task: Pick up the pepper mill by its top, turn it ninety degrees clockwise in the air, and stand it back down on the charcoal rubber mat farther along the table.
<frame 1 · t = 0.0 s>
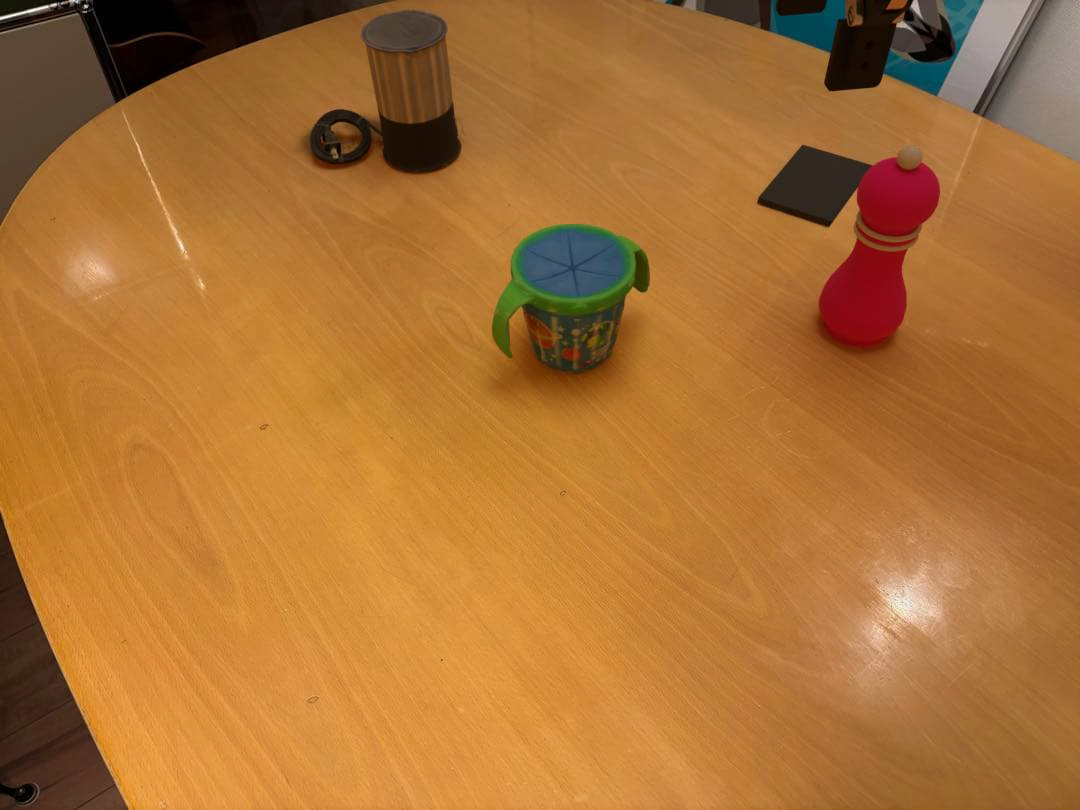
hand: (823, 47, 54), 30 cm above the table, tool pointing down, fingers open, 9 cm apart
pepper mill: (849, 342, 80), on the table
mat: (867, 203, 93), on the table
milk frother: (388, 154, 103), on the table
snack cup: (573, 348, 80), on the table
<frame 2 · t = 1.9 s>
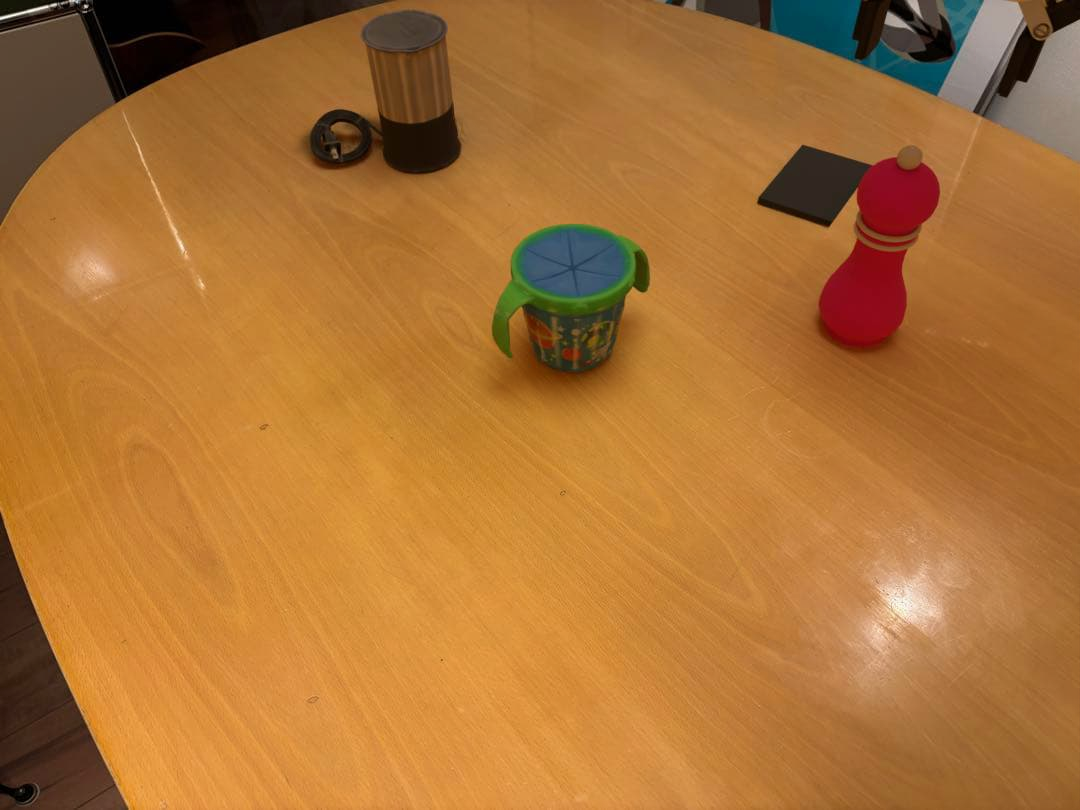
hand: (934, 69, 60), 26 cm above the table, tool pointing down, fingers open, 9 cm apart
nothing on the table moved.
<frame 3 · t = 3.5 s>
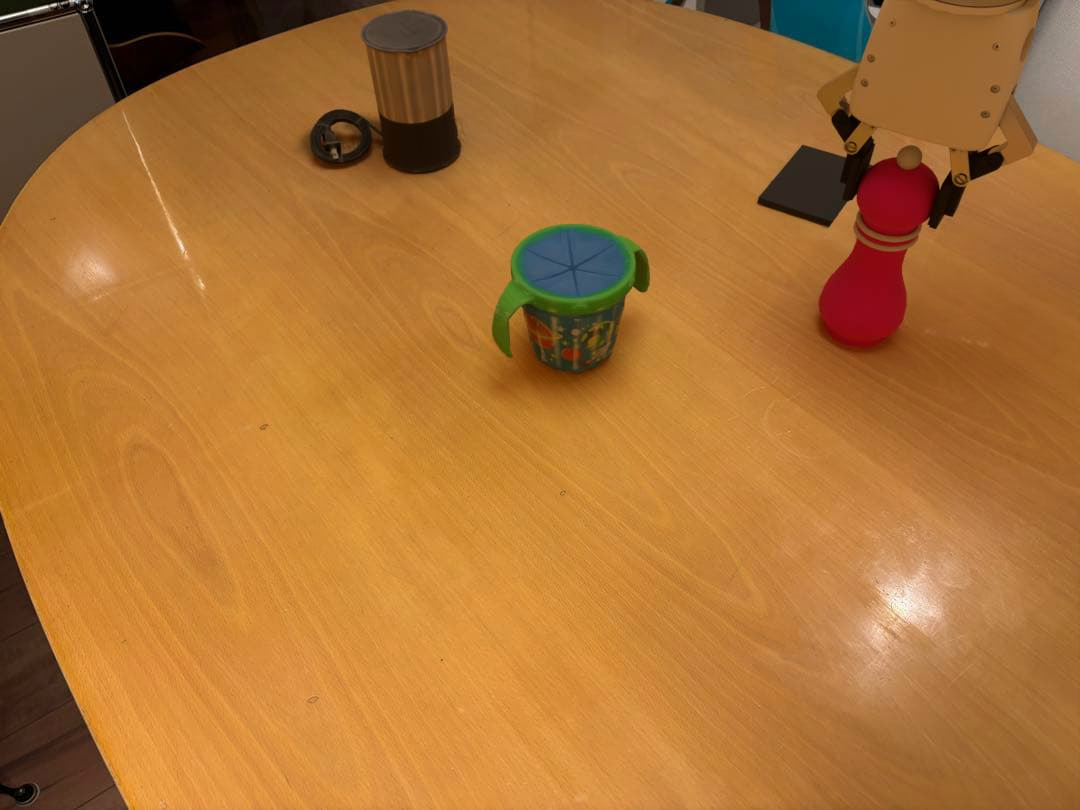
hand: (894, 203, 68), 15 cm above the table, tool pointing down, fingers closed on pepper mill, 6 cm apart
pepper mill: (849, 342, 79), on the table, touching gripper
everything else where it was.
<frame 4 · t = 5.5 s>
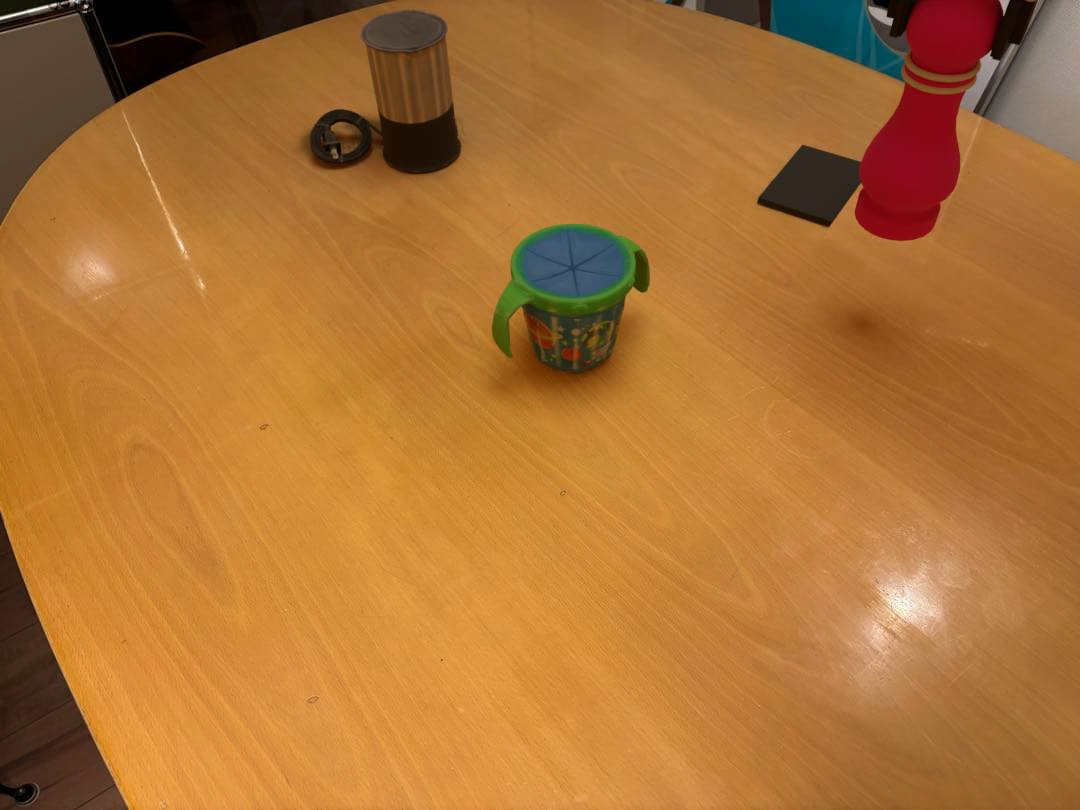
hand: (950, 37, 60), 28 cm above the table, tool pointing down, fingers closed on pepper mill, 6 cm apart
pepper mill: (893, 220, 71), point 12 cm above the table, touching gripper
everything else where it was.
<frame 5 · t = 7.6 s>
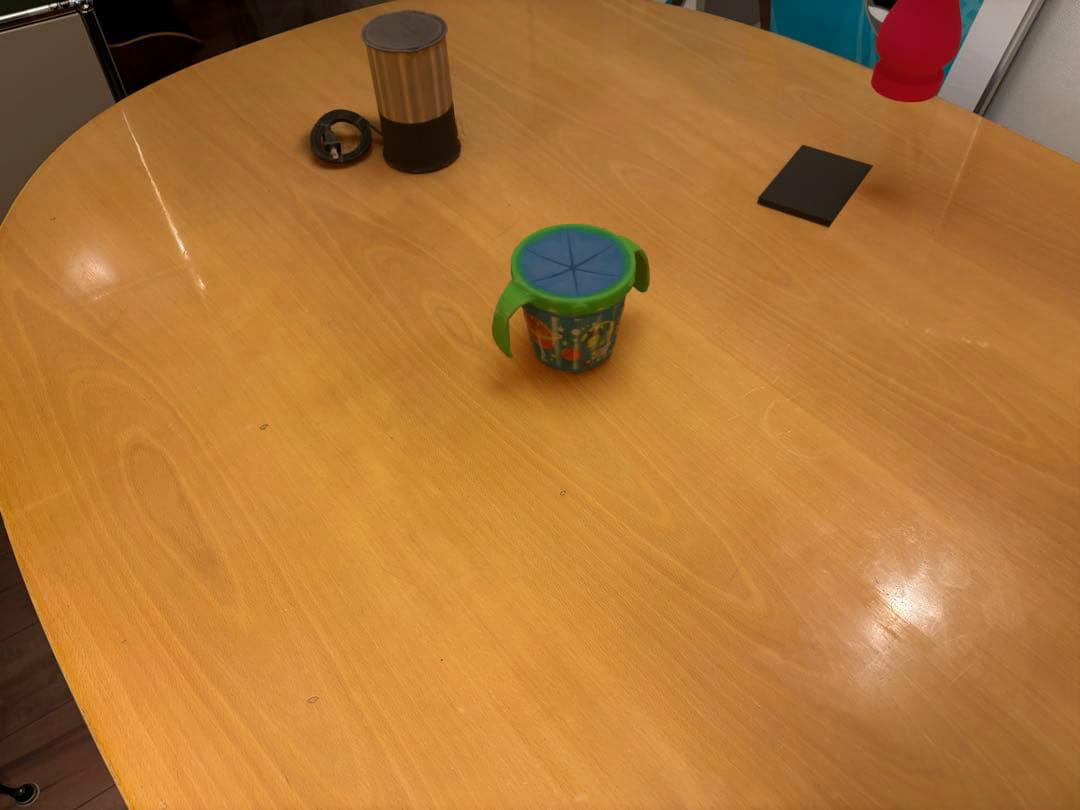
pepper mill: (904, 88, 83), point 13 cm above the table, touching gripper
everything else where it was.
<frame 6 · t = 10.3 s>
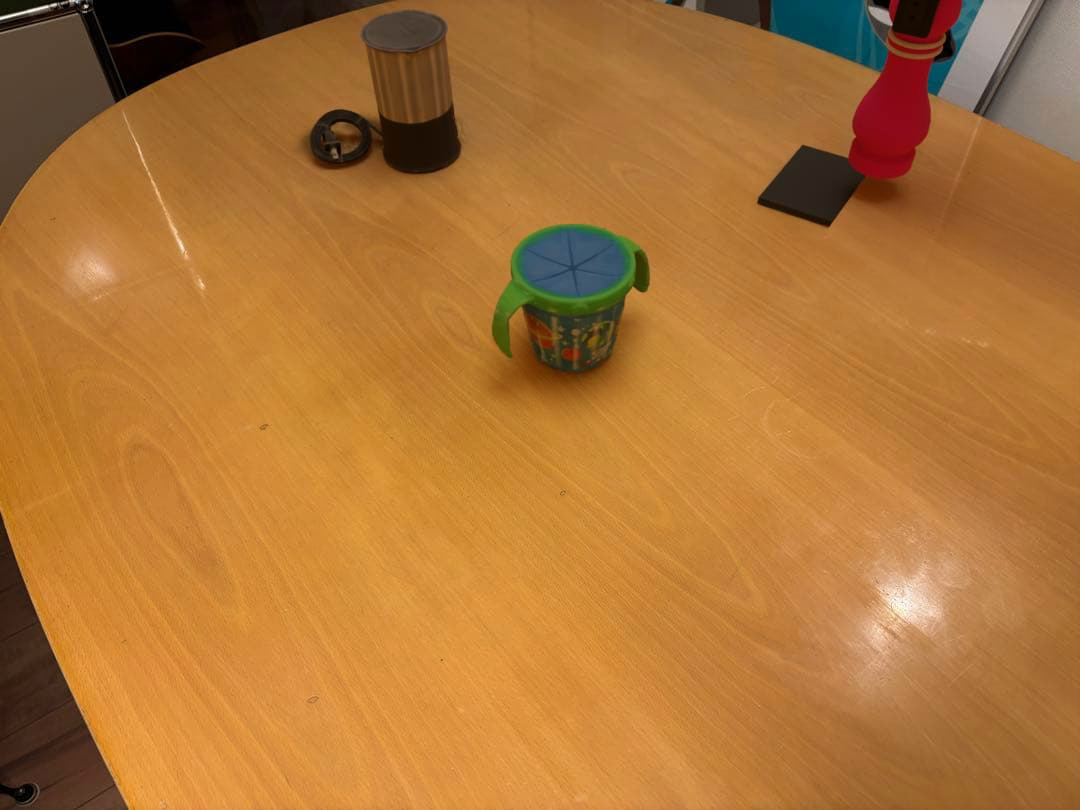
hand: (922, 16, 78), 20 cm above the table, tool pointing down, fingers closed on pepper mill, 6 cm apart
pepper mill: (878, 163, 89), point 5 cm above the table, touching gripper
everything else where it was.
when the fingers open (16 cm above the table, at t = 11.9 s): pepper mill stays where it is, resting on mat.
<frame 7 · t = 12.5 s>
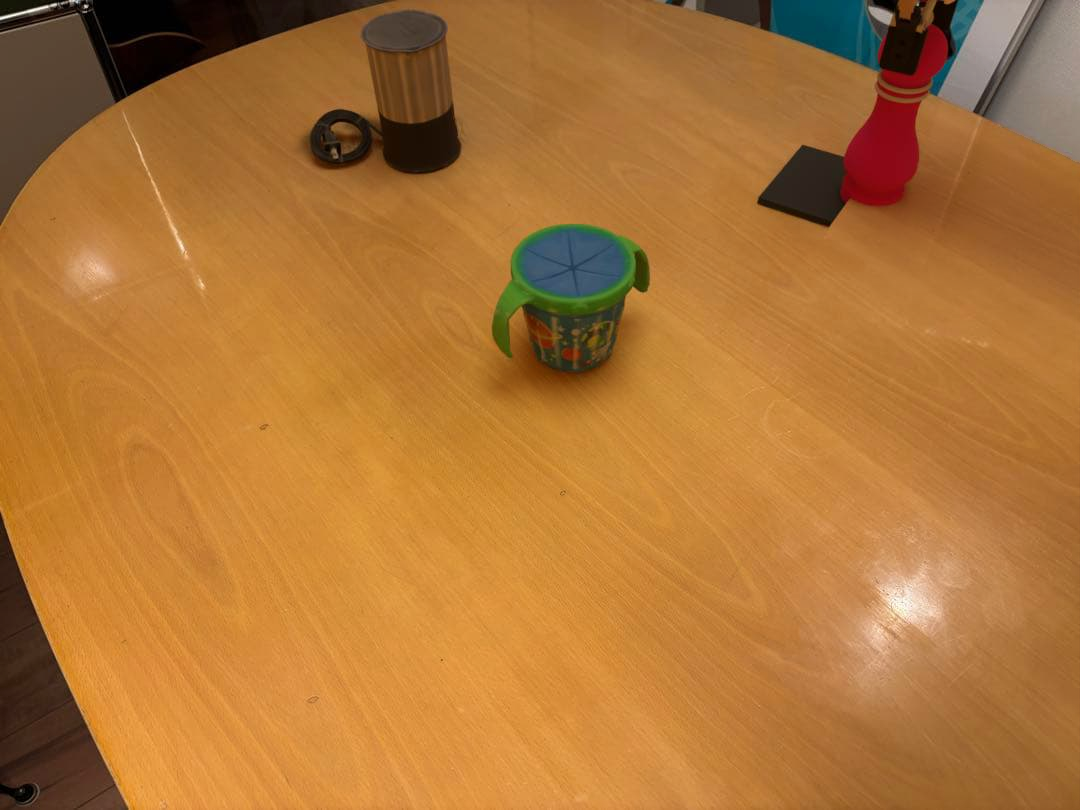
hand: (914, 48, 80), 17 cm above the table, tool pointing down, fingers open, 9 cm apart
pepper mill: (869, 198, 93), point 1 cm above the table, touching mat
everything else where it was.
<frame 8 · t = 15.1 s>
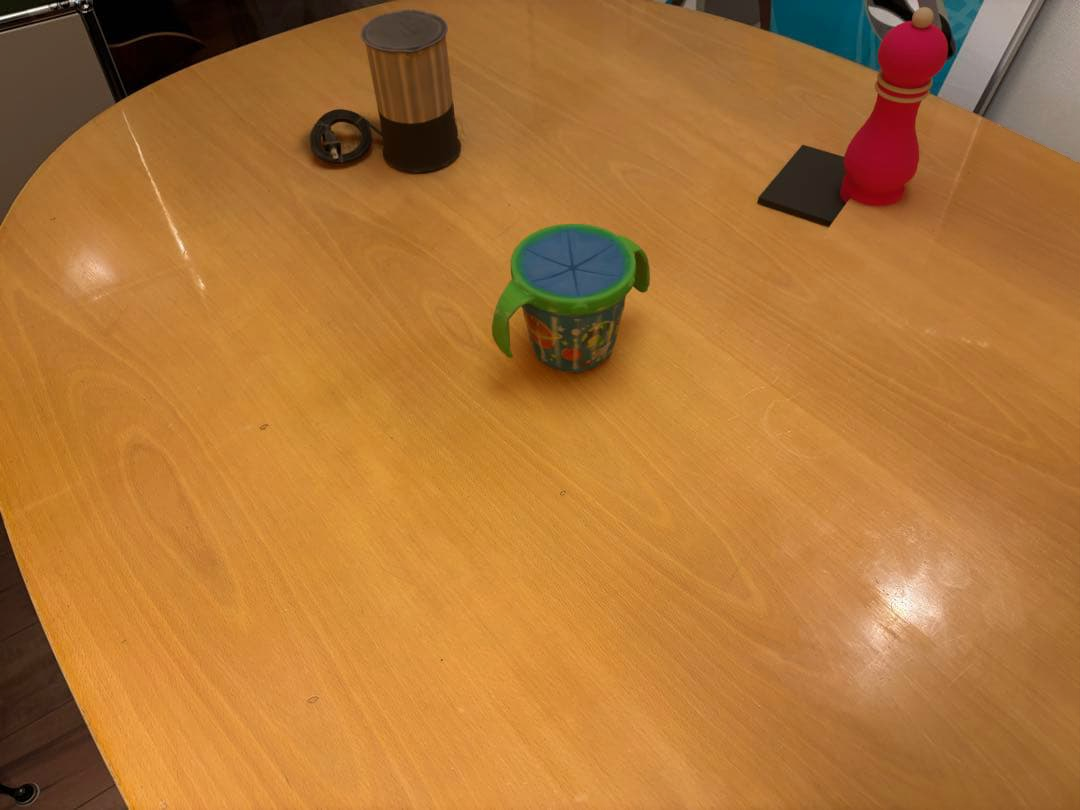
nothing on the table moved.
at the end: pepper mill inside the target area on the mat (0.0 cm from its centre), point 0.6 cm above the mat's base; pepper mill tilted 0°; the gripper is holding nothing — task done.
